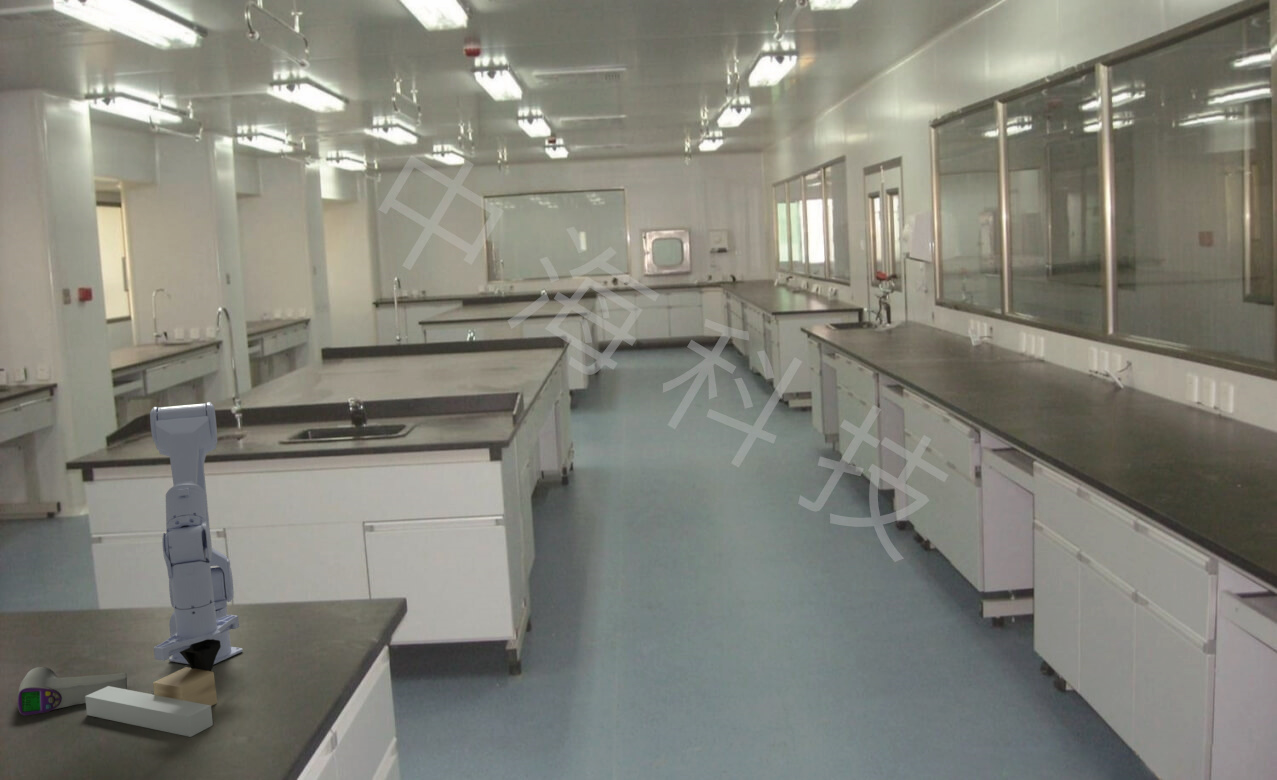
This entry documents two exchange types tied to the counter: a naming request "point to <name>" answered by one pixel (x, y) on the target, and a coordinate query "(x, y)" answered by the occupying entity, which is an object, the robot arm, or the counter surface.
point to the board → (149, 711)
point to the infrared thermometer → (60, 689)
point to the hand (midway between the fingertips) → (204, 687)
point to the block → (188, 686)
